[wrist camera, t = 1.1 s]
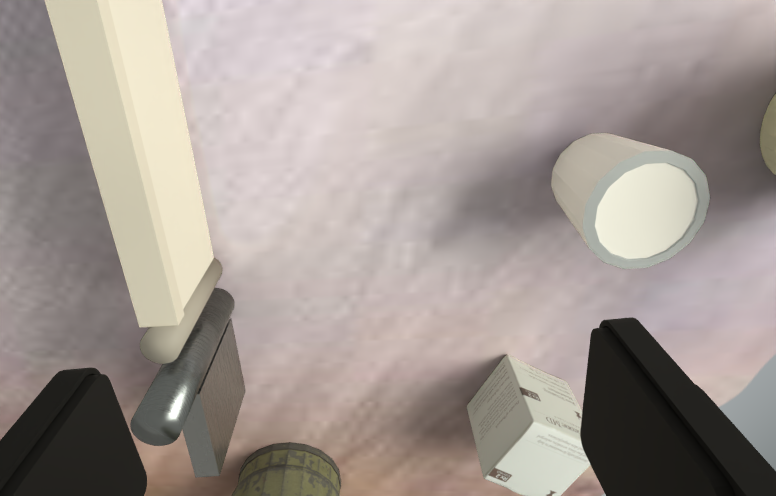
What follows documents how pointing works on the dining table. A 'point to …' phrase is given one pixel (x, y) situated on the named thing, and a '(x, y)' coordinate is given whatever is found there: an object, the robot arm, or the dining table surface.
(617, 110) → the dining table surface
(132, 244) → the gate
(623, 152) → the white short cylinder
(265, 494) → the thermos
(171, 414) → the gate frame
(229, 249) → the dining table surface
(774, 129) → the reusable coffee cup
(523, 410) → the skincare box
